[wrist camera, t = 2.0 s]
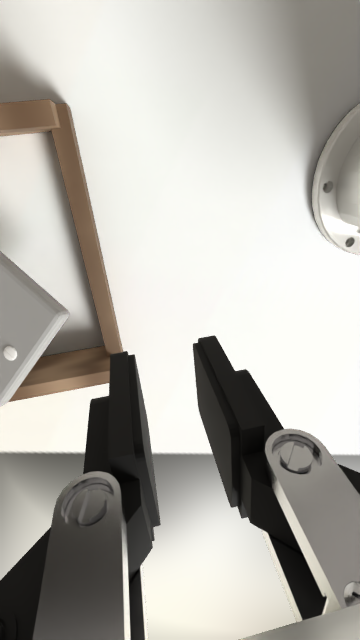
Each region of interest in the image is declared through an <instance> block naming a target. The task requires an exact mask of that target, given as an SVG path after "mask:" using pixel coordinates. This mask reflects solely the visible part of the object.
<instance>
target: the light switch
mask: <svg viewBox="0 0 360 640" xmlns="http://www.w3.org/2000/svg"><path fill="white" fill-rule="evenodd" d="M68 317H69V312H68V310H67V309H66V308H65V307H63V306H62V305H61V304H60V303H59V302H58V301H57V300H55V299H54V298H53V297H52V296H51V295H50V294H49V293H47V292H46V291H45V290H44V289H43V288H42V287H41V286H39V285H38V284H37V283H36V282H35V281H34V280H33V279H31V278H30V277H29V276H28V275H27V274H26V273H25V272H24V271H22V270H21V269H20V268H19V267H18V266H17V265H16V264H14V263H13V262H12V261H11V260H10V259H9V258H8V257H6V256H5V255H4V254H3V253H2V252H1V251H0V406H2V405H4V404H6V403H7V402H9V400H10V399H11V397H12V396H13V395H14V393H15V392H16V390H17V389H18V387H19V386H20V385H21V383H22V382H23V380H24V379H25V378H26V376H27V375H28V373H29V372H30V371H31V369H32V368H33V366H34V365H35V363H36V362H37V361H38V359H39V358H40V356H41V355H42V354H43V352H44V351H45V349H46V348H47V347H48V345H49V344H50V342H51V341H52V340H53V338H54V337H55V335H56V334H57V332H58V331H59V330H60V328H61V327H62V325H63V324H64V323H65V321H66V320H67V318H68Z"/></svg>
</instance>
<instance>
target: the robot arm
mask: <svg viewBox="0 0 360 640" xmlns="http://www.w3.org/2000/svg"><path fill="white" fill-rule="evenodd" d="M323 185H324V187H323ZM312 207H313V212H314V216H315V220H316V223H317V225H318V227H319V229H320V231H321V233H322V234H323V235H324V236H325V238H326V239H327V240H328V241H329V242H330V243H332V244H333V245H334V246H335V247H337V248H340V249H342V250H344V251H346V252H349V253H353V254H356V255H360V103H359V104H358V105H357V106H356V107H354V108H353V109H352V110H351V111H350V112H349V113H348V114H347V115H346V116H345V117H344V119H343V120H342V121H341V122H340V123H339V124H338V125H337V127H336V128H335V130H334V132H333V133H332V135H331V136H330V138H329V139H328V141H327V143H326V145H325V147H324V149H323V151H322V153H321V156H320V158H319V161H318V164H317V168H316V171H315V174H314V180H313V187H312ZM193 353H194V365H195V376H196V387H197V399H198V407H199V412H200V416H201V419H202V422H203V425H204V428H205V431H206V434H207V437H208V440H209V443H210V446H211V449H212V452H213V455H214V458H215V461H216V464H217V467H218V470H219V473H220V476H221V479H222V482H223V485H224V488H225V491H226V494H227V497H228V500H229V503H230V506H231V507H236V506H238V509H239V512H240V515H241V518H246V517H248V518H249V520H250V523H252V524H253V525H255V526H257V527H258V528H260V529H262V532H263V536H264V539H265V542H266V544H267V547H268V550H269V552H270V555H271V557H272V560H273V563H274V565H275V568H276V570H277V573H278V576H279V578H280V581H281V583H282V586H283V588H284V591H285V594H286V596H287V599H288V601H289V604H290V606H291V609H292V612H293V614H294V617H295V620H296V623H293V624H290V625H286V626H283V627H279V628H276V629H273V630H269V631H266V632H263V633H260V634H256V635H253V636H249V637H246V638H243V639H239V640H360V473H358V472H356V471H354V470H351V469H349V468H347V467H344V466H342V465H339V464H337V463H336V461H335V460H334V459H333V457H332V456H331V454H330V453H329V452H328V450H327V449H326V447H325V446H324V445H323V444H322V443H321V442H320V441H319V440H318V439H317V438H316V437H314V436H312V435H311V434H309V433H307V432H304V431H301V430H296V429H284V428H283V427H282V425H281V423H280V422H279V420H278V418H277V417H276V415H275V414H274V412H273V410H272V409H271V407H270V405H269V404H268V402H267V401H266V399H265V397H264V396H263V394H262V393H261V391H260V389H259V388H258V386H257V384H256V383H255V381H254V380H253V378H252V376H251V375H250V373H249V372H248V371H247V370H246V369H245V370H239V371H235V370H234V369H233V367H232V365H231V363H230V361H229V360H228V358H227V356H226V354H225V352H224V351H223V349H222V347H221V345H220V343H219V342H218V340H217V338H216V336H209V337H204V338H199V339H198V343H195V344H193ZM159 525H160V516H159V509H158V500H157V493H156V484H155V476H154V469H153V461H152V452H151V444H150V436H149V428H148V421H147V415H146V410H145V405H144V400H143V395H142V390H141V385H140V379H139V374H138V369H137V364H136V359H135V355H128V352H127V351H126V352H120V353H115V354H110V383H109V396H106V397H101V398H96V399H92V400H91V402H90V410H89V421H88V431H87V441H86V452H85V462H84V472H83V475H81V476H79V477H77V478H76V479H74V480H73V481H71V482H70V483H69V484H68V485H67V486H66V487H65V488H64V489H63V491H62V492H61V494H60V495H59V497H58V499H57V501H56V505H55V508H54V513H53V519H52V525H51V527H50V529H49V530H48V531H47V532H46V533H45V534H44V535H43V536H42V537H41V538H40V539H39V540H38V541H37V542H36V543H35V545H33V547H32V548H31V549H30V550H29V551H28V552H27V553H26V554H25V555H24V556H23V557H22V558H21V559H20V560H19V561H18V563H17V564H16V565H15V566H14V567H13V568H12V569H11V570H10V571H9V572H8V573H7V574H6V575H5V576H4V577H3V578H2V580H0V640H148V629H147V616H146V602H145V588H144V575H143V564H142V563H143V561H144V560H145V558H146V557H147V555H148V554H149V552H150V551H151V549H152V541H154V531H153V527H155V526H159Z"/></svg>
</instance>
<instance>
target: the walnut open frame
mask: <svg viewBox="0 0 360 640" xmlns="http://www.w3.org/2000/svg"><path fill="white" fill-rule="evenodd" d="M51 131H52V135H53V139H54V143H55V147H56V151H57V155H58V159H59V163H60V167H61V171H62V175H63V179H64V183H65V187H66V191H67V195H68V199H69V203H70V207H71V211H72V215H73V219H74V223H75V227H76V231H77V235H78V240H79V244H80V248H81V252H82V256H83V260H84V264H85V268H86V272H87V276H88V280H89V284H90V288H91V292H92V296H93V300H94V304H95V308H96V312H97V316H98V320H99V324H100V328H101V332H102V336H103V340H104V344H105V346H100V347H95V348H89V349H83V350H77V351H72V352H66V353H60V354H55V355H49V356H43V357H40V358H39V359H38V361H37V362H36V363H35V365H34V366H33V368H32V369H31V371H30V372H29V373H28V375H27V376H26V378H25V379H24V380H23V382H22V383H21V385H20V386H19V387H18V389H17V390H16V392H15V393H14V395H13V396H12V397H11V399H10V400H9V402H11V401H16V400H22V399H27V398H32V397H37V396H43V395H48V394H53V393H58V392H64V391H69V390H74V389H79V388H85V387H90V386H95V385H101V384H106V383H110V354H115V353H120V352H123V349H122V344H121V340H120V335H119V331H118V326H117V321H116V317H115V312H114V308H113V303H112V298H111V294H110V289H109V285H108V280H107V275H106V271H105V266H104V262H103V257H102V252H101V248H100V243H99V239H98V234H97V229H96V225H95V220H94V216H93V211H92V206H91V202H90V197H89V193H88V188H87V183H86V179H85V174H84V170H83V165H82V160H81V156H80V151H79V147H78V142H77V137H76V133H75V128H74V124H73V119H72V114H71V110H70V107H69V106H68V105H67V104H66V103H64V104H55V103H54V102H52V101H51V100H50V99H45V100H33V101H21V102H9V103H0V136H9V135H19V134H30V133H40V132H51Z"/></svg>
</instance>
